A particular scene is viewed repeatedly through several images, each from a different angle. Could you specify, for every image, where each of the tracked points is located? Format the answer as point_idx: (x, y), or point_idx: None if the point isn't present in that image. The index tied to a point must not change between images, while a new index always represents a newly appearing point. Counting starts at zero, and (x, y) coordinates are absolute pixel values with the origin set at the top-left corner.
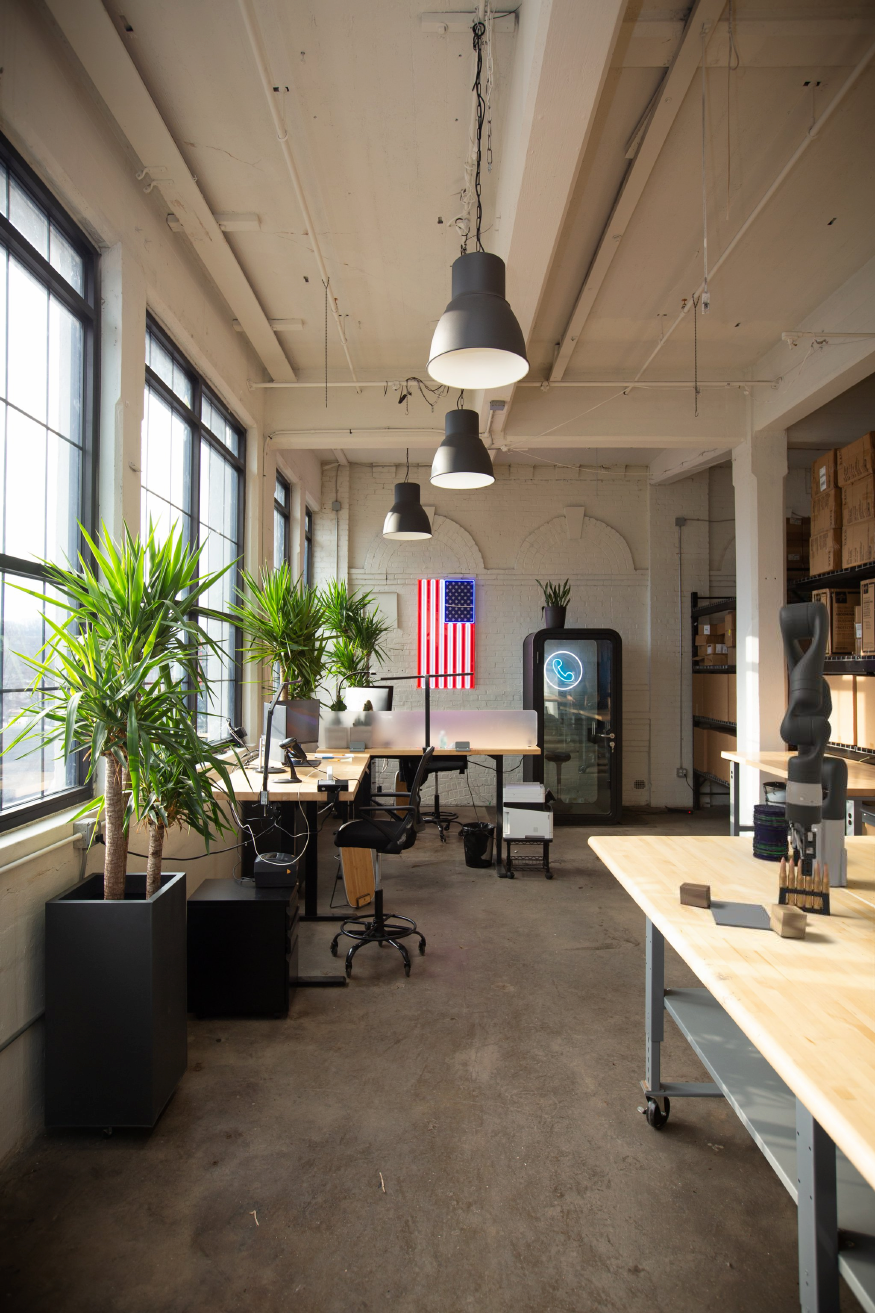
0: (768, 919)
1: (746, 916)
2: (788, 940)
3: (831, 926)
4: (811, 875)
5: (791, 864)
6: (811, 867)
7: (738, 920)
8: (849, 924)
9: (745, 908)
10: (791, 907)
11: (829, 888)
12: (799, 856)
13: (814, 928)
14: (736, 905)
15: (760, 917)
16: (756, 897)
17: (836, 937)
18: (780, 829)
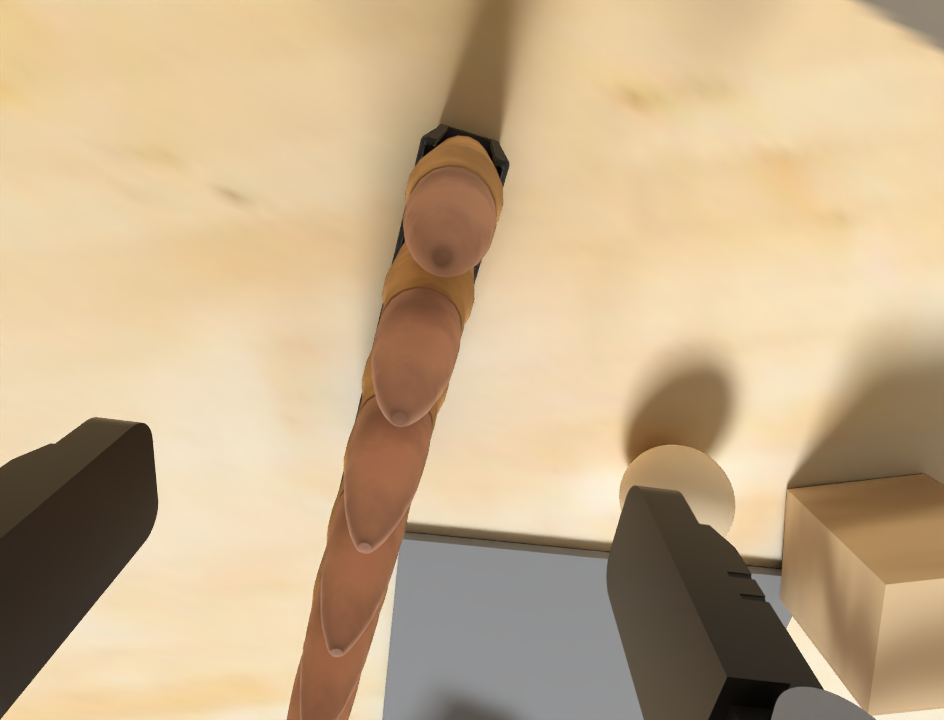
0: None
1: (620, 653)
2: None
3: (728, 232)
4: (679, 500)
5: (362, 664)
6: (720, 584)
7: None
8: (682, 61)
9: (488, 629)
10: (926, 621)
11: (481, 150)
12: (41, 572)
13: (765, 361)
14: (444, 656)
15: None
16: (207, 510)
17: (930, 285)
18: None
